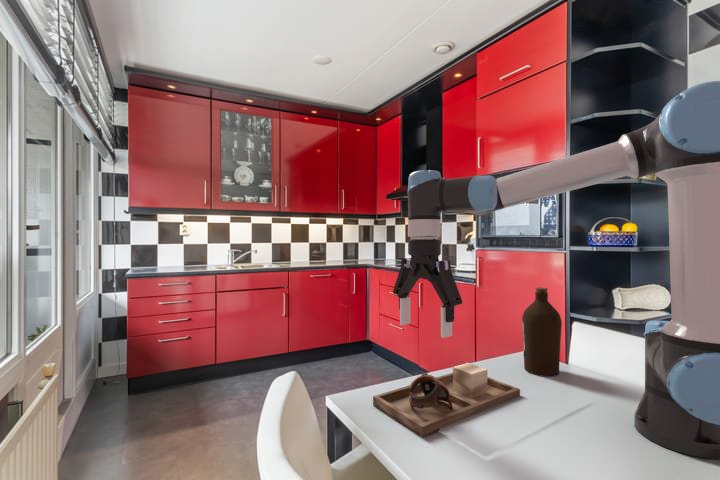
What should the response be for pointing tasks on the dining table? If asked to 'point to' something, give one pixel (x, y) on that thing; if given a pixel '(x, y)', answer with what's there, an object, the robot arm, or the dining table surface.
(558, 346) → the olive oil
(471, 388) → the beech block
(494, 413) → the dining table surface
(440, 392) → the pottery mug
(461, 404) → the walnut tray
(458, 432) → the dining table surface
